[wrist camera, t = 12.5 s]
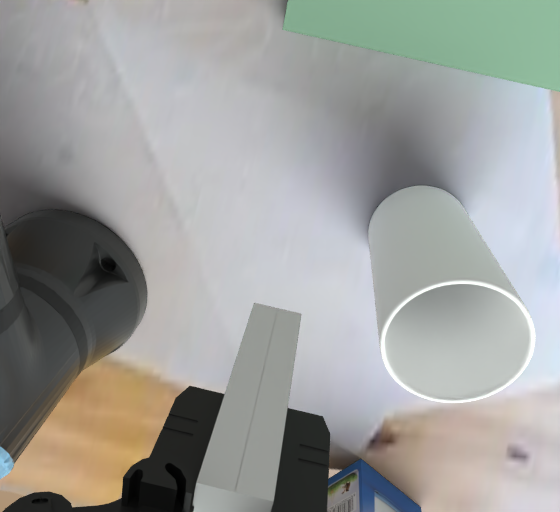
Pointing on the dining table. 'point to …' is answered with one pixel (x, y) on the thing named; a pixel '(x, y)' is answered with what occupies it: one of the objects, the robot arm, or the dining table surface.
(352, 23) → the green
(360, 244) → the dining table surface
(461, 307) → the cup
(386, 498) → the milk carton
